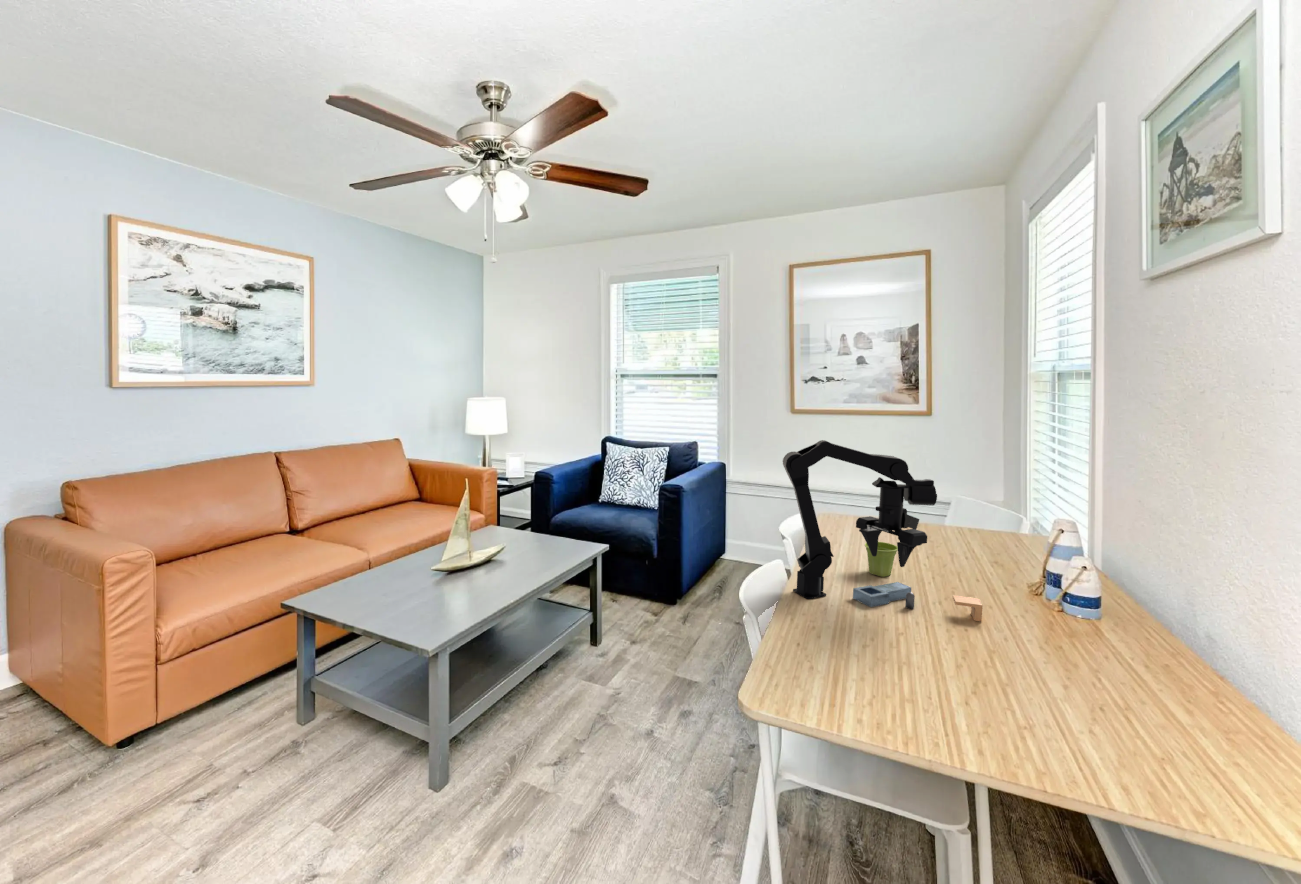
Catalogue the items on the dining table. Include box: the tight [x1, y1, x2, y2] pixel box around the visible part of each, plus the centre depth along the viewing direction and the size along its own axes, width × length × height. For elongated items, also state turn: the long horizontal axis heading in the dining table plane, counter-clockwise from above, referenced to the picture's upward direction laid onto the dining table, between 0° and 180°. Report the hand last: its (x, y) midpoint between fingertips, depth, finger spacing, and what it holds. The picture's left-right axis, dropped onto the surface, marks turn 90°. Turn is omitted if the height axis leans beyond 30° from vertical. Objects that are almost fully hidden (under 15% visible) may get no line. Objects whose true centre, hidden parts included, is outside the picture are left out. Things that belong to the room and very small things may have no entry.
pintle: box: [905, 591, 916, 610], centre depth 134 cm, size 2×2×4 cm
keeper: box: [952, 594, 984, 622], centre depth 129 cm, size 6×4×4 cm
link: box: [852, 581, 912, 608], centre depth 139 cm, size 15×6×3 cm, turn 113°
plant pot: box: [864, 541, 898, 578], centre depth 159 cm, size 9×9×9 cm
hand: (887, 561), depth 139 cm, fingers open, 9 cm apart
